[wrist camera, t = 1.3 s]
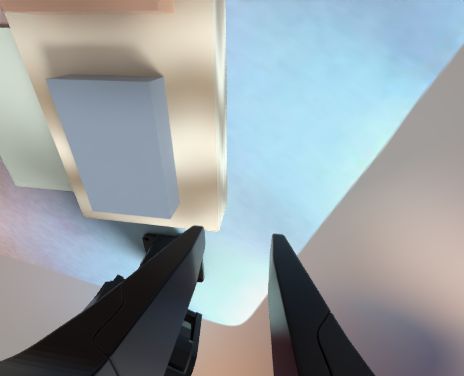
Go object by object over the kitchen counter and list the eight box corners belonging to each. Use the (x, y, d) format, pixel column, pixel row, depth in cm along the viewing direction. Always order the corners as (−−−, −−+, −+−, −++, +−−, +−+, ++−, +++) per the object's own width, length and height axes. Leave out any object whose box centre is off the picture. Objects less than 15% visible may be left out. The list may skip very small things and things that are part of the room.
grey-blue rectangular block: (179, 203, 19) (170, 219, 17) (108, 196, 20) (92, 211, 18) (163, 76, 14) (148, 82, 13) (70, 74, 15) (45, 78, 14)
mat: (105, 192, 25) (103, 194, 25) (18, 184, 26) (15, 186, 26) (54, 28, 18) (50, 27, 17) (-63, 28, 19) (-68, 27, 19)
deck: (227, 203, 23) (218, 231, 20) (109, 193, 25) (83, 217, 22) (224, -108, 13) (206, -158, 10) (23, -94, 15) (-53, -134, 11)
